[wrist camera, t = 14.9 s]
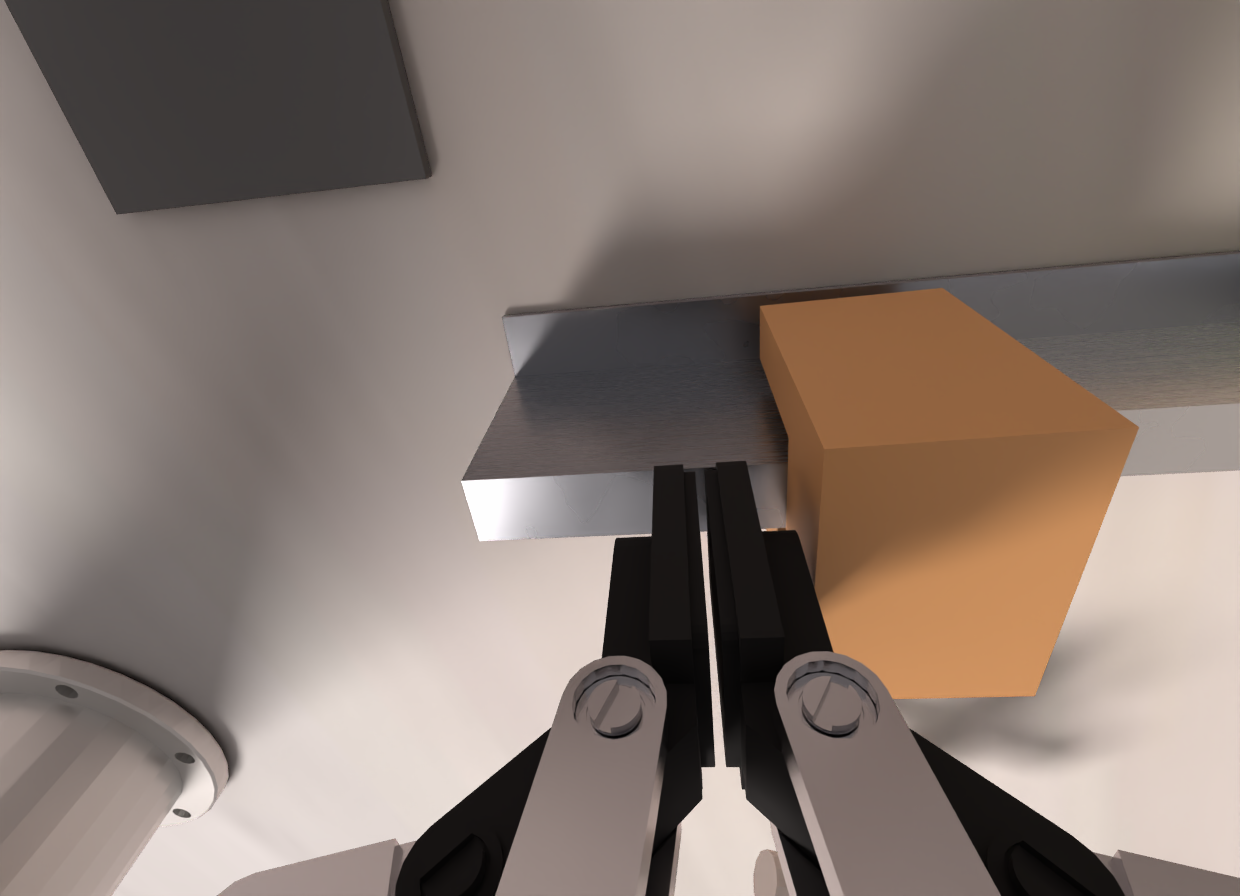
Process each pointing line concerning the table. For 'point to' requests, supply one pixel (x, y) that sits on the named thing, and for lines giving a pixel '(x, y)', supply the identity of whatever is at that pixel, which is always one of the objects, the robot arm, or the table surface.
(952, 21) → the table surface
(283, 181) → the pad
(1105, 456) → the clip
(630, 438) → the rail
